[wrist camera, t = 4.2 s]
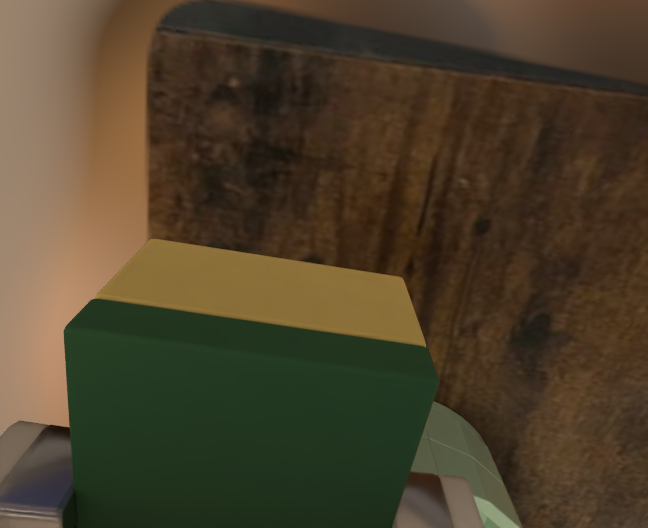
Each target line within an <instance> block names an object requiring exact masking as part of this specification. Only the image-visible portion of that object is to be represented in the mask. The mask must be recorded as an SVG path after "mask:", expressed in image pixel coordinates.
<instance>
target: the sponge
mask: <svg viewBox="0 0 648 528" xmlns="http://www.w3.org/2000/svg"><path fill="white" fill-rule="evenodd" d="M64 344H65V360H66V377H67V392H68V407H69V423H70V440H71V456H72V471H73V487H74V489H75V493H76V506H77V520H78V523H77V525H76V528H391V527H392V525H393V522H394V519H395V516H396V513H397V510H398V507H399V504H400V501H401V498H402V495H403V492H404V489H405V486H406V483H407V480H408V477H409V474H410V471H411V468H412V465H413V462H414V459H415V456H416V452H417V449H418V446H419V443H420V440H421V437H422V434H423V431H424V428H425V425H426V422H427V419H428V416H429V413H430V410H431V407H432V404H433V401H434V398H435V395H436V392H437V389H438V386H439V378H438V376H437V373H436V370H435V367H434V364H433V361H432V358H431V356H430V353H429V350H428V349H427V348H426V342H425V339H424V337H423V334H422V331H421V328H420V325H419V322H418V319H417V316H416V314H415V311H414V308H413V305H412V302H411V299H410V296H409V293H408V291H407V288H406V285H405V282H404V279H403V278H401V277H397V276H391V275H385V274H378V273H372V272H365V271H359V270H352V269H346V268H340V267H333V266H327V265H320V264H314V263H307V262H301V261H295V260H288V259H282V258H275V257H269V256H262V255H256V254H250V253H243V252H237V251H230V250H224V249H217V248H211V247H205V246H198V245H192V244H185V243H179V242H172V241H166V240H160V239H149V241H148V242H147V243H146V244H145V245H144V246H143V247H142V248H141V249H140V250H139V251H138V252H137V253H136V254H135V255H134V256H133V257H132V258H131V259H130V261H128V262H127V264H126V265H125V266H124V267H123V268H122V269H121V270H120V271H119V272H118V273H117V274H116V275H115V276H114V277H113V279H111V280H110V281H109V282H108V283H107V284H106V285H105V287H103V289H102V290H101V291H100V292H99V293H98V294H97V296H96V298H95V299H93V300H91V301H90V302H89V303H88V304H87V305H86V306H85V307H84V308H83V309H82V310H81V311H80V312H79V313H78V314H77V315H76V316H75V317H74V318H73V319H72V320H71V321H70V322H69V323H68V325H67V326H66V327H65V329H64Z"/></svg>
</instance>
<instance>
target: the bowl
mask: <svg viewBox="0 0 648 528" xmlns="http://www.w3.org/2000/svg"><path fill="white" fill-rule="evenodd" d="M411 471H416V472H424V473H433V474H440V475H449V476H457V477H465V479H466V480H467V481H468V482H469V484H470V487H471V490H472V493H473V496H474V499H475V502H476V505H477V507H478V510H479V513H480V516H481V519H482V522H483V525H484V528H524V527H523V525H522V522H521V520H520V518H519V515H518V513H517V511H516V508H515V506H514V504H513V502H512V499H511V497H510V495H509V492H508V490H507V488H506V485H505V483H504V481H503V478H502V476H501V474H500V472H499V470H498V468H497V466H496V464H495V462H494V459H493V457H492V455H491V453H490V450H489V448H488V446H487V445H486V443H485V442H484V440H483V439H482V437H481V436H480V435H479V433H478V432H477V431H476V430H475V429H474V428H473V427H472V425H470V424H469V423H468V422H467V421H466V420H464V419H463V418H462V417H461V416H460V415H458V414H457V413H455V412H454V411H452V410H450V409H449V408H447V407H446V406H444V405H441V404H439V403H437V402H435V401H433V404H432V407H431V410H430V413H429V416H428V419H427V422H426V425H425V428H424V431H423V434H422V437H421V440H420V443H419V446H418V449H417V452H416V456H415V459H414V462H413V465H412V468H411Z"/></svg>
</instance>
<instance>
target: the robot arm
mask: <svg viewBox="0 0 648 528" xmlns="http://www.w3.org/2000/svg"><path fill="white" fill-rule="evenodd" d="M77 523H78V520H77V506H76V493H75V489H74V487H73V471H72V456H71V440H70V428H69V427H61V426H55V425H45V424H39V423H32V422H25V421H18V422H16V423H15V424H13V425H11V426H10V427H9V428H8V429H7V430H6V431H5V432H4V433H3V434H2V436H1V437H0V528H76V525H77ZM391 528H484V525H483V522H482V519H481V516H480V513H479V510H478V507H477V505H476V502H475V499H474V496H473V493H472V490H471V487H470V484H469V482H468V481H467V480H466V479H465V477H457V476H449V475H440V474H433V473H424V472H416V471H410V474H409V477H408V480H407V483H406V486H405V489H404V492H403V495H402V498H401V501H400V504H399V507H398V510H397V513H396V516H395V519H394V522H393V525H392V527H391Z"/></svg>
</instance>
